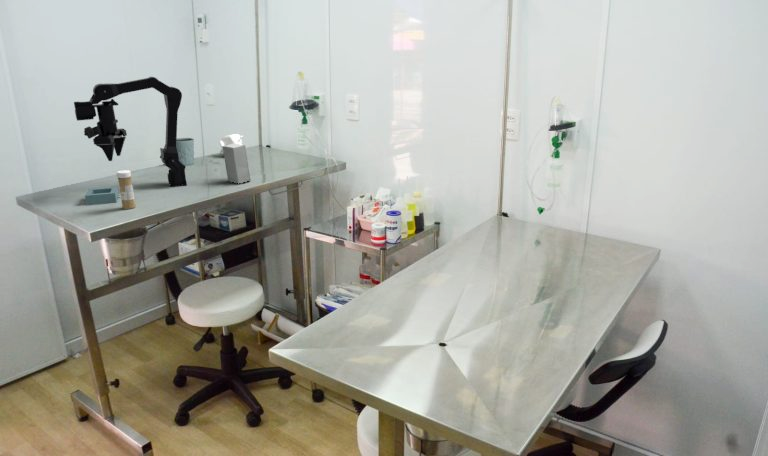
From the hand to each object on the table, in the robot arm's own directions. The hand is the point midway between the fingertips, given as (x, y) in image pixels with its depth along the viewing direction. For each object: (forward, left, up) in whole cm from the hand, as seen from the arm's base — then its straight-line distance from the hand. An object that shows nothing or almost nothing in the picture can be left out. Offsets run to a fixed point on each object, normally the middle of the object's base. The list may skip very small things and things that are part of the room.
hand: (114, 158), depth 215 cm
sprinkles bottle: (-5, +25, -14) cm, 29 cm away
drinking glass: (-25, -44, -14) cm, 53 cm away
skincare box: (-46, 0, -14) cm, 48 cm away
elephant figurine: (-49, -52, -14) cm, 73 cm away
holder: (+5, +11, -14) cm, 18 cm away
